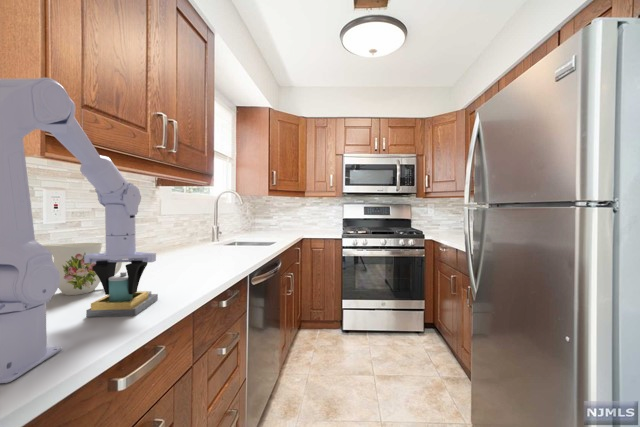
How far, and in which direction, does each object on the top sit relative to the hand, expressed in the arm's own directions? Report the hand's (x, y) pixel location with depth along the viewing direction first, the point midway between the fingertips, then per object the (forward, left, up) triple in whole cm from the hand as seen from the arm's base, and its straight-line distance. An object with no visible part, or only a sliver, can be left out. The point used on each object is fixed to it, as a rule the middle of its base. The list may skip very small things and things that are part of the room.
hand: (121, 293), depth 67 cm
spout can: (0, 0, -2) cm, 2 cm away
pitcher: (+17, +19, -4) cm, 26 cm away
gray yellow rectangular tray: (+2, 0, -4) cm, 4 cm away
